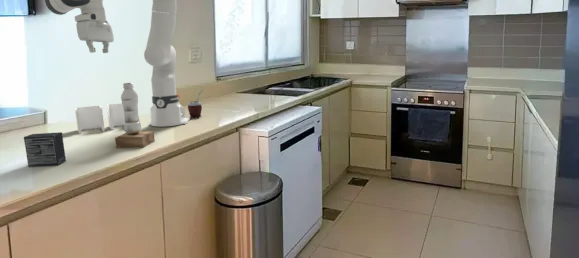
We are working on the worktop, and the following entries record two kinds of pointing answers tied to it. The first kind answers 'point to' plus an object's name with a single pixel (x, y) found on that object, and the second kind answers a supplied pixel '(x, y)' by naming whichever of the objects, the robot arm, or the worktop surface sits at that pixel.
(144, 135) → the plinth
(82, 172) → the worktop surface
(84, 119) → the pair of white bookends
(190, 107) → the mate gourd
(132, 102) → the plastic bottle
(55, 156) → the small box
